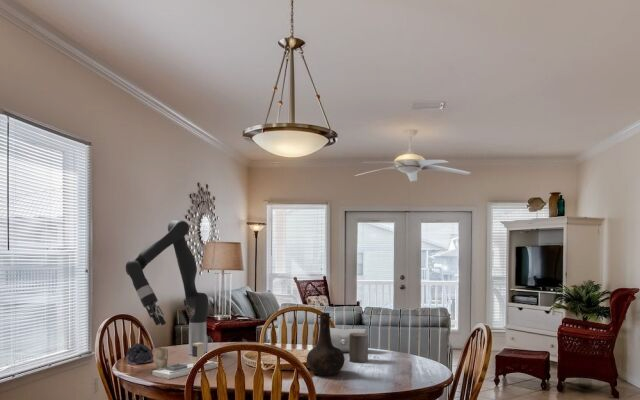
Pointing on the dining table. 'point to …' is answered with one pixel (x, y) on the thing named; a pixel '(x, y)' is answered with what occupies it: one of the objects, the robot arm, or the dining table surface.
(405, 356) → the dining table surface
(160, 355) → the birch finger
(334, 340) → the tank
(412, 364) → the dining table surface
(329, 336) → the dark brown vase
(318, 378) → the dining table surface
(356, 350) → the pillar candle
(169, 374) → the board
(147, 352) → the crystal cluster
